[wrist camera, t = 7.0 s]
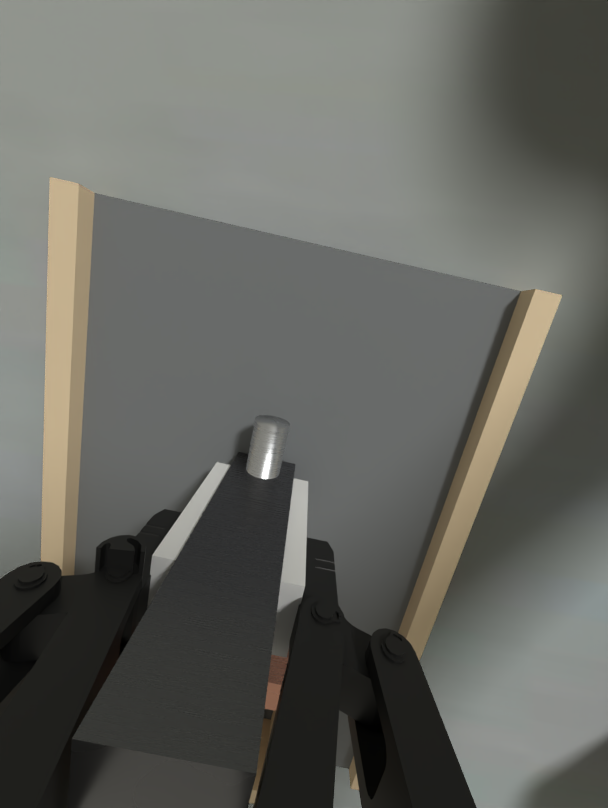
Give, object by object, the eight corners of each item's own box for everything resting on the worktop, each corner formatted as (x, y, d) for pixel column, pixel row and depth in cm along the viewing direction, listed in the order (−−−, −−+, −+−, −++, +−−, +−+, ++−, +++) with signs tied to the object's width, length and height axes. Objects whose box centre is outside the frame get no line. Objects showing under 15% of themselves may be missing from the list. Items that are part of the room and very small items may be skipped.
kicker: (187, 393, 16) (-136, 572, 5) (364, 431, 16) (489, 695, 5) (157, 617, 20) (-72, 1050, 8) (304, 646, 20) (292, 1110, 8)
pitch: (90, 199, 16) (17, 159, 12) (525, 299, 16) (591, 291, 13) (65, 687, 24) (16, 759, 20) (362, 744, 24) (372, 826, 20)
